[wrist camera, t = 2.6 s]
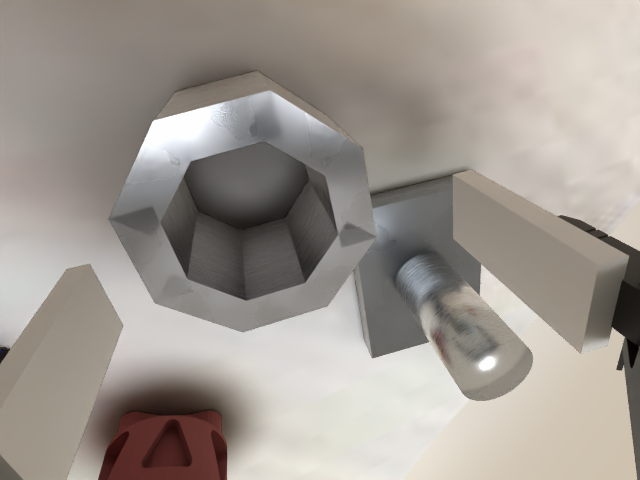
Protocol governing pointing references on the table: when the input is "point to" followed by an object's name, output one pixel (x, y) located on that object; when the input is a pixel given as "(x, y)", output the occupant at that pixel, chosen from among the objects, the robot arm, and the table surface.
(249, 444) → the table surface
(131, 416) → the mechanical component
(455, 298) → the bulb on base
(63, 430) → the robot arm
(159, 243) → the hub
